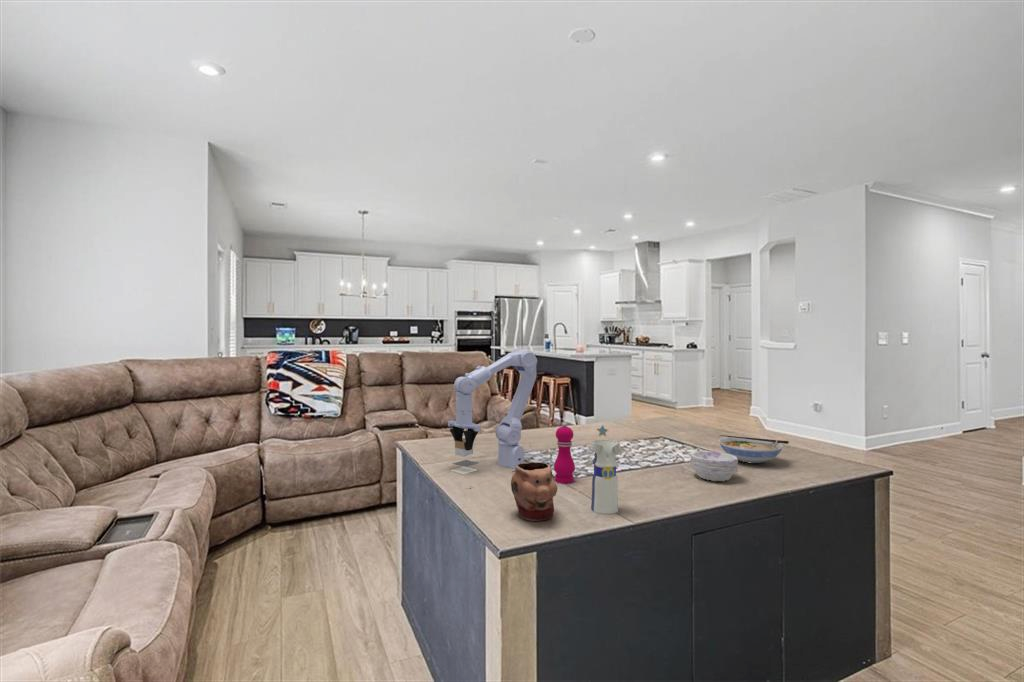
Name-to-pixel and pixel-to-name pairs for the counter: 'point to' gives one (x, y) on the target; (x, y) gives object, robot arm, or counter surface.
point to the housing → (462, 448)
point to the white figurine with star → (605, 475)
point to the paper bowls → (714, 465)
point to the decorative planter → (534, 490)
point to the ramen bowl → (751, 448)
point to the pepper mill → (564, 455)
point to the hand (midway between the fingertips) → (464, 448)
